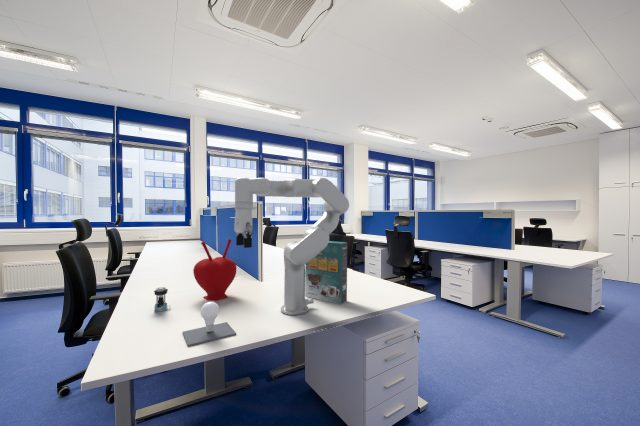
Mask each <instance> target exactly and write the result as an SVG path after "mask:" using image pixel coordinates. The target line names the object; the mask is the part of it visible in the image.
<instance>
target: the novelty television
mask: <svg viewBox="0 0 640 426" xmlns="http://www.w3.org/2000/svg"><path fill="white" fill-rule="evenodd" d="M232 241H233V240H232V239H231V238H229V239H227V243H226V246H225V249H224V252H223V255H222V256H217V257H214V258H213V257H212V255H211V253H210V251H209V249H208V247H207V245H206V241H201V242H200V243H201V246H202V248H203V249H204V251H205V253H206V255H207V257H208V258H203V259H201V260H199V261H198V262H197V263H195V265H194V267H193V269H192V272H193V276H194V278H195V279H194V280H195V281H196V283H197V284H198V285H199V287H200V288H201V289H202V290H203V291H204V292H205V293H206V295H204V296H203V299H205V300H207V301H212V302H215V301H219V300H224V299H227V298H228V295H227V293H226V292H227V290H228V288H229V287H230V286H231V284H232V283H233V282H234V280H235V278H236V275H237V274H236V273H237V264H236V262H235V261H234V260H232V259H230V258H228V257H226V256H227V253H228V251H229V248H230V245H231V243H232Z"/></svg>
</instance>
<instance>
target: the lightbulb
mask: <svg viewBox="0 0 640 426" xmlns="http://www.w3.org/2000/svg"><path fill="white" fill-rule="evenodd" d="M219 312H220V306H219V305H218V303H216V302H215V301H207V302H205V303H204V304H203V305H202V306H201V308H200V316H201V318H202V319H203V321H204V323H205V327H206V331H207V332H211V331H213V330H214V329H213V327H214V325H215V322H216V321H215V320H216V318H217V317H218V315H219Z"/></svg>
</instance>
